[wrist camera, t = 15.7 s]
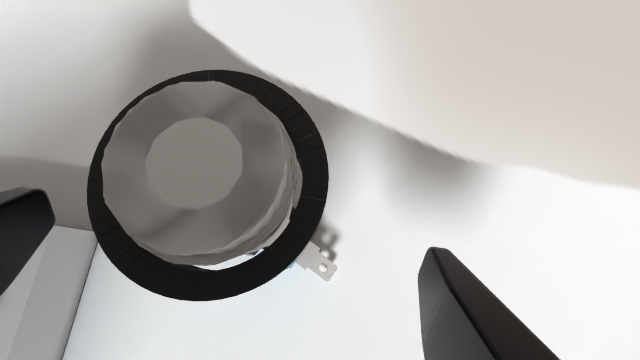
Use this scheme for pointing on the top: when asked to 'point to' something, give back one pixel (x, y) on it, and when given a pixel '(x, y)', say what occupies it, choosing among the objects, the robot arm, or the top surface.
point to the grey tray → (46, 296)
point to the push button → (209, 186)
